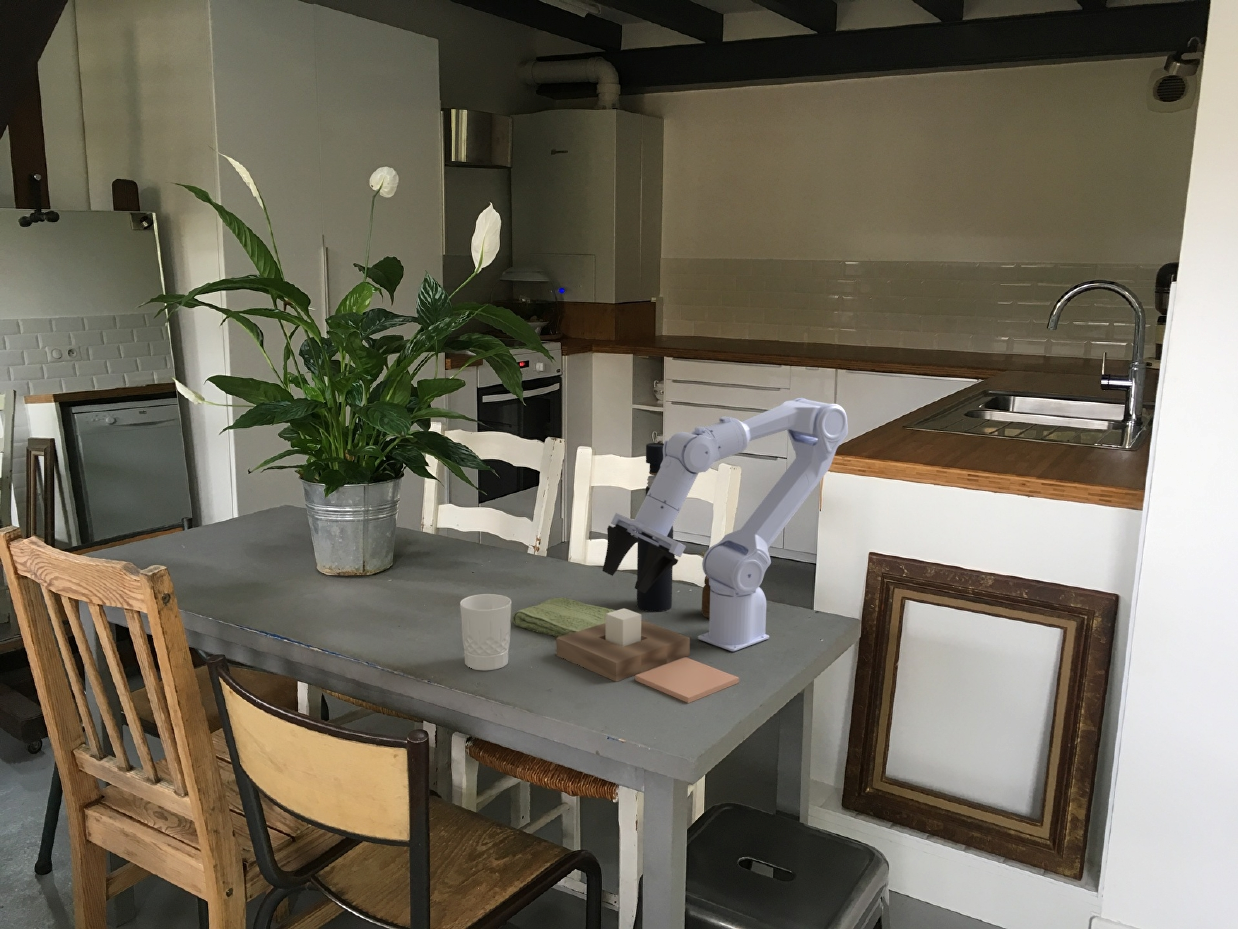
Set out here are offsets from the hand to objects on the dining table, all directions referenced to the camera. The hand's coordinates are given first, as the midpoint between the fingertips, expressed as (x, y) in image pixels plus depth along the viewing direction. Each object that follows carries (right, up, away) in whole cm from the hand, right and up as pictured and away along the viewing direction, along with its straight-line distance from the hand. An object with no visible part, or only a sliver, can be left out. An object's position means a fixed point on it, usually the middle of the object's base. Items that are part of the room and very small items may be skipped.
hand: (623, 582), depth 161 cm
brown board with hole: (0, -12, +5) cm, 13 cm away
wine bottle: (+6, -8, +29) cm, 31 cm away
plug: (0, -12, +5) cm, 13 cm away
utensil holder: (+17, -9, +25) cm, 31 cm away
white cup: (-21, -13, +2) cm, 25 cm away
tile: (+10, -14, -5) cm, 18 cm away
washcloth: (-9, -10, +19) cm, 23 cm away
